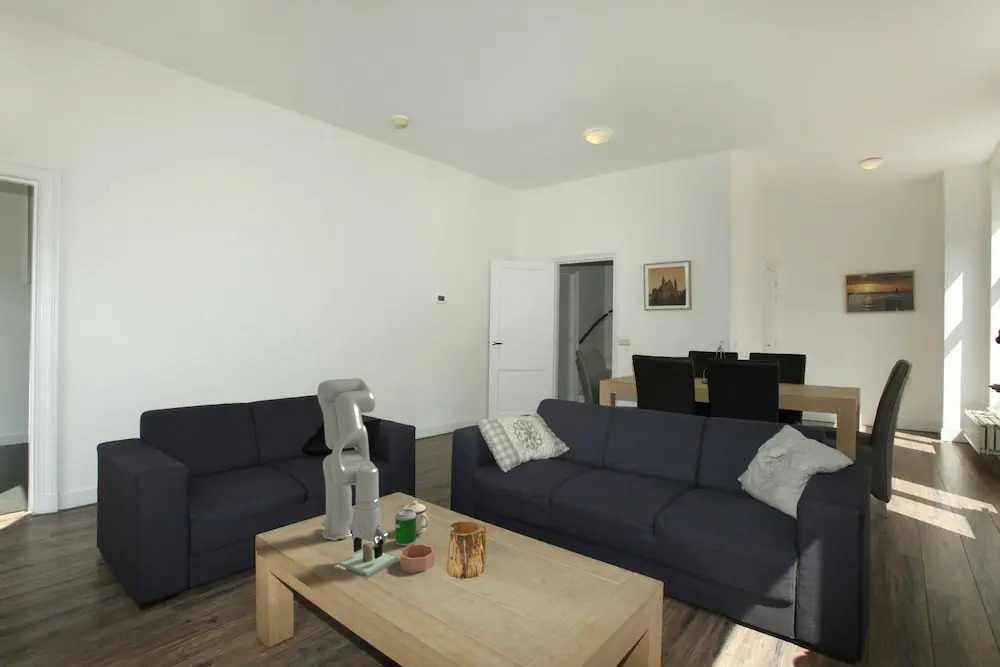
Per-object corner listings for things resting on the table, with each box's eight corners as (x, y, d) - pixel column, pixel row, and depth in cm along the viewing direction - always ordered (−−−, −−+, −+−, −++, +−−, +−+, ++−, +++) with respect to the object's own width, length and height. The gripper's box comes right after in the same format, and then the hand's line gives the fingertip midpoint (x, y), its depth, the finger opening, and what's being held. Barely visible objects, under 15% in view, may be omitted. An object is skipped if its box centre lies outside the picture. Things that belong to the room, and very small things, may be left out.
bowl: (393, 568, 175) (393, 553, 175) (415, 555, 184) (415, 541, 184) (418, 577, 169) (418, 561, 169) (440, 563, 179) (440, 549, 179)
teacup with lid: (398, 531, 205) (397, 502, 205) (414, 524, 213) (414, 495, 212) (420, 539, 198) (419, 508, 198) (436, 531, 206) (436, 502, 205)
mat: (333, 567, 175) (333, 566, 175) (368, 550, 189) (368, 548, 189) (367, 580, 167) (367, 578, 167) (401, 560, 181) (401, 559, 181)
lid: (339, 565, 176) (339, 547, 176) (368, 550, 187) (368, 534, 187) (367, 575, 169) (367, 557, 169) (395, 559, 180) (395, 542, 180)
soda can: (418, 540, 198) (418, 508, 197) (413, 548, 190) (413, 516, 190) (398, 539, 198) (398, 508, 198) (392, 548, 191) (392, 515, 190)
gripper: (341, 502, 179) (341, 552, 179) (377, 512, 170) (378, 564, 170) (357, 496, 185) (358, 544, 186) (394, 505, 176) (394, 555, 176)
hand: (367, 553), depth 178 cm, fingers open, 9 cm apart
